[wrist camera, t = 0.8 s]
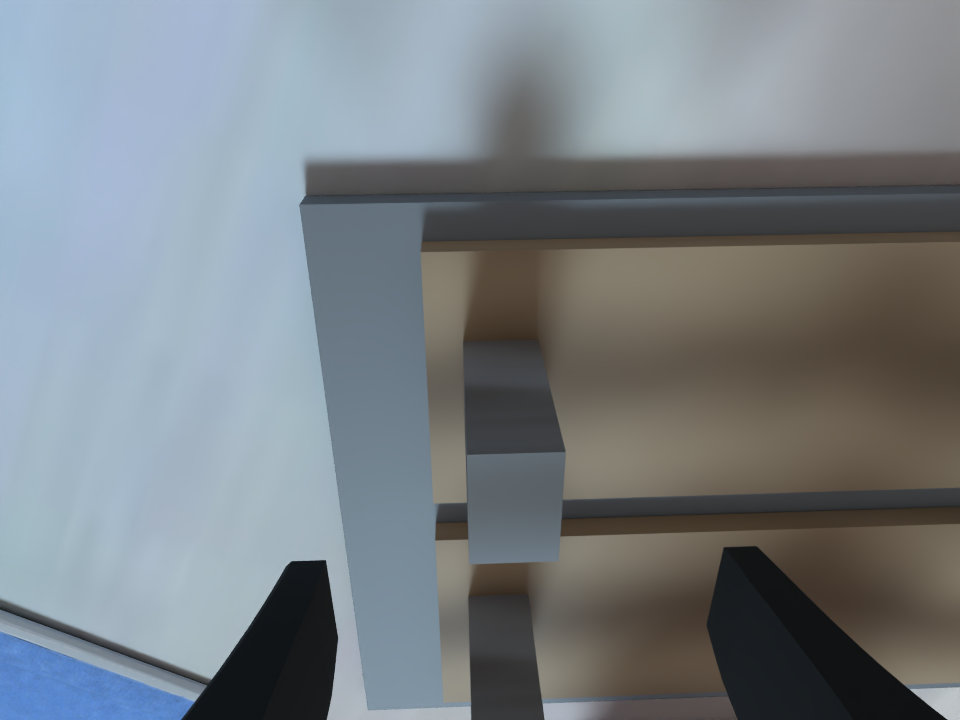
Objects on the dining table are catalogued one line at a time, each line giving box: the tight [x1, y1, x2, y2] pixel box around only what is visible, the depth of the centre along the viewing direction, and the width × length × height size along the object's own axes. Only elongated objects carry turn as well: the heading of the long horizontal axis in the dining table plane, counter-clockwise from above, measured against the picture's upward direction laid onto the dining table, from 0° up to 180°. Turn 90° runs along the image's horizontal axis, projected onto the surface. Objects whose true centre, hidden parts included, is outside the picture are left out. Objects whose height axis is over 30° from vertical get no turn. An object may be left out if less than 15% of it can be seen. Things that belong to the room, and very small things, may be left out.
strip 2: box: [435, 507, 960, 720], centre depth 22 cm, size 8×28×6 cm, turn 90°
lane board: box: [300, 185, 960, 710], centre depth 23 cm, size 20×34×1 cm, turn 90°
